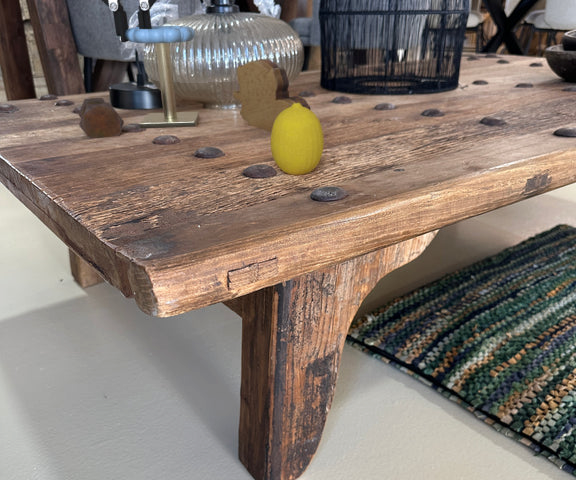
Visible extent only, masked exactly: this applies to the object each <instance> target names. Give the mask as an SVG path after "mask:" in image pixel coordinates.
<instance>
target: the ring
mask: <svg viewBox="0 0 576 480" xmlns="http://www.w3.org/2000/svg"><path fill="white" fill-rule="evenodd" d="M151 26H152V29H139V26H135V27H130V28H128V30H127V31H126V38H127V40H128V42H130V43H135V44H155V43H170V44H174V43H185V42H186V43H187V42H191V41H192V40H193V39H194V38H195V36H196V32H195V29H194V28H193V27H191V26H186V25H151Z"/></svg>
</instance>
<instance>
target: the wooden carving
mask: <svg viewBox="0 0 576 480" xmlns="http://www.w3.org/2000/svg"><path fill="white" fill-rule="evenodd" d="M236 78H237V83H238V86H239V90H237V91H234V92H233V93H232V96H233V98H234V100H235V101H237V102H238V101H239V102H240V107H241V109H240V110H239V114H240V116H241V118H242V119H243V120H244V121H245V123H247V124H248V125H249V126H251V127H253V128H257V129H260V130H263V131H266V132H269V133H272V128H273V124H274V122H275V119H276V118H277V116H278V115H279V114H280V113H281V112H282V111H284V110H285V109H287V108H289V107H291V106H292V105H293V103H300V104H301V105H302V106H303V107H305V108H308V109H309V110H311V106H310V105H309V103H308V101H307V100H306V99H305V98H304V97H302V96H299V95H293V96H290V91H289V89H288V88H289V87H290V80H289V78H288V74H287V70H286V69H285V67H284V66H282V67H279V66H278V64H277V63H275V62H274V61H272V60H270V59H268V58H261V59H257V60H251V61H248V62H246V63H244V64H240V65H237V68H236ZM311 111H312V110H311Z"/></svg>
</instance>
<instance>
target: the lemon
mask: <svg viewBox="0 0 576 480" xmlns="http://www.w3.org/2000/svg"><path fill="white" fill-rule="evenodd" d="M270 133H271V134H270V152H271V155H272V158H273V161H274V163H275V165H276V166H277V167H278V168H279V169H280V171H282V172H284V173H286V174H288V175H291V176H303V175H306V174H308V173H311V172H312V171H313V170H314V169H315V168H316V167H317V166H318V165H319V163H320V162H321V159H322V157H323V152H324V145H325V140H324V139H325V138H324V131H323V127H322V123H321V121H320V118H319V117H318V116H317V115H316V113H314V111H312V110H309V109H308V108H305V107H303V106H302V105H301V104H300V103H293V105H292V106H291V107H289V108H287V109H285V110H284V111H282V112H281V113H280V114H279V115H278V116H277V118H276V119H275V122H274V124H273V128H272V132H270Z"/></svg>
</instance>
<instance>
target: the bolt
mask: <svg viewBox="0 0 576 480" xmlns="http://www.w3.org/2000/svg"><path fill="white" fill-rule="evenodd" d="M78 117H79V118H80V121H79V124H78V127H79V128H80V129H81V130H82V132H83V133H84V134H85V135H86V136H87V138H88V139H89V140H94V139H104V138H114V137H120V135H121V132H122V130H123V127H124V124H125V121H124V119H123V118H122V117H121V116H120V114H119V113H118V112H117V110H116V109H115V108H114V107H113V105H112V104H111V103H110V102H107V101H105V99H104V98H103V97H90V98H89V97H88V98H84V100H83V102H82V104H81V106H80V110H79V112H78Z"/></svg>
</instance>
